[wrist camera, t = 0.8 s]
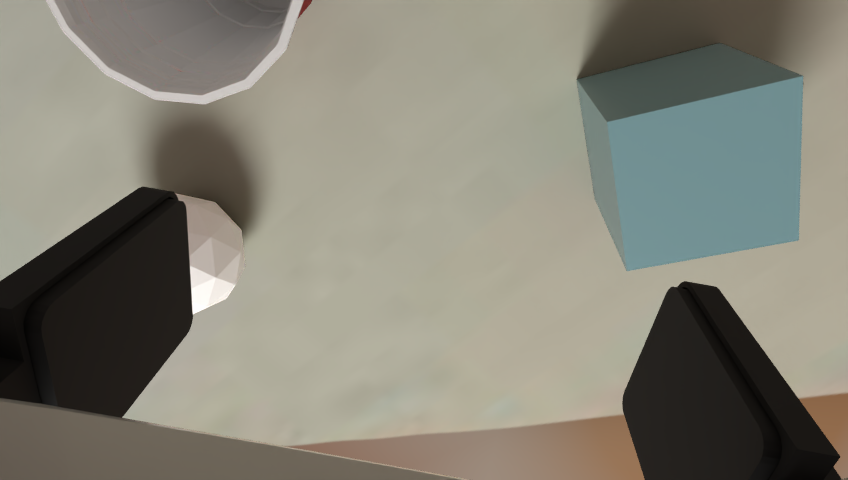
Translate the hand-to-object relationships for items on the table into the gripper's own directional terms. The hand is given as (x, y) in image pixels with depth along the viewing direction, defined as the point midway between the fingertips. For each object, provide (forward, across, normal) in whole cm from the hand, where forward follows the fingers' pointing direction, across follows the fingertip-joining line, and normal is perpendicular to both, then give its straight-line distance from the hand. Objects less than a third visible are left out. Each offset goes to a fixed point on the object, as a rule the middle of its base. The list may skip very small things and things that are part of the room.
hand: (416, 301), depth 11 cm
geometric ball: (+24, +16, +14) cm, 32 cm away
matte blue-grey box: (+24, -12, +1) cm, 27 cm away
